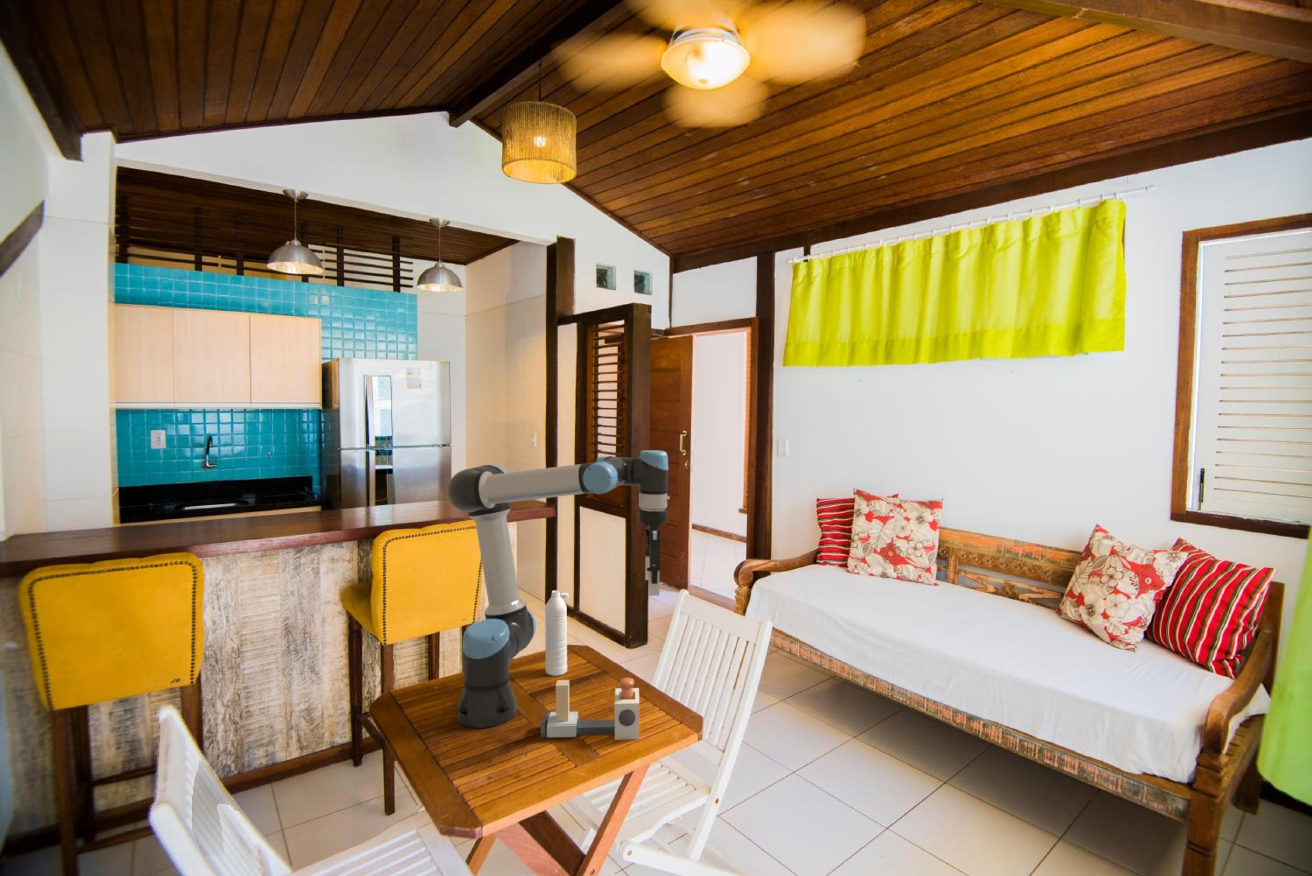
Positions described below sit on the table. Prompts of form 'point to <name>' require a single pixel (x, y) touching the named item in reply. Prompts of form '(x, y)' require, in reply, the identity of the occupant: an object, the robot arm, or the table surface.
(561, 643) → the water bottle
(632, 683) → the button
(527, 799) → the table surface
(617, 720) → the grey box housing
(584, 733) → the rail
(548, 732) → the carriage
